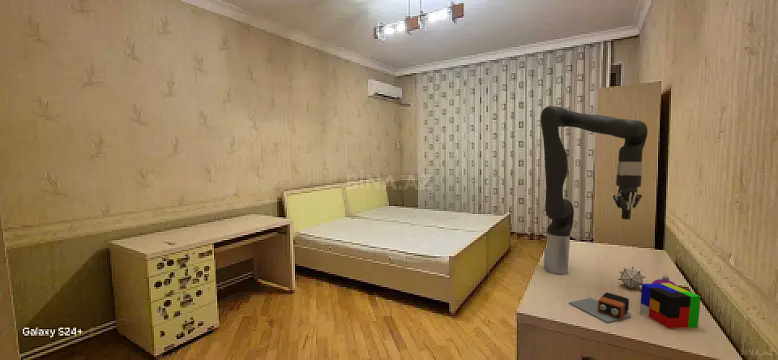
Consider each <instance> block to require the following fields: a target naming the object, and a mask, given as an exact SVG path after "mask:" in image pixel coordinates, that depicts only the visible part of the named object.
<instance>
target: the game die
mask: <svg viewBox="0 0 778 360" xmlns="http://www.w3.org/2000/svg"><path fill="white" fill-rule="evenodd" d="M641 272H642V271H637V270H636V269H634V267H633V266H632V268H628V269H626V268H625V267H624V268H623V271H619V273H620V278H617V280H618V281H621V282H622V283H623V286H625V285H626V286H627V287H628V288H629V291H631V290H632V289H635V288H637V289H640V288H641V287H640V286H642V284H644V279H645V278H646V276H643V275H642V274H641Z"/></svg>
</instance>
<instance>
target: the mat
mask: <svg viewBox="0 0 778 360" xmlns="http://www.w3.org/2000/svg"><path fill="white" fill-rule="evenodd" d="M568 304H569V305H570V306H572V307H574V308H576V309H578V310H581V311H583V312H585V313H586V314H588V315H590V316H592V317H594V318H596V319H598V320H599V321H602V322H604V323H606V324H611V323H616V322H620V321H623V320H627V319H631V318H632V316H631V315H629V314H628V313H626V314H625V315H624V316H623V317H622V319H619V318H616V317H613V316H610V315H607V314H604V313H601V312H599V311H598V299H595V298H592V297H588V298H581V299H579V300H573V301H569V302H568Z"/></svg>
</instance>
